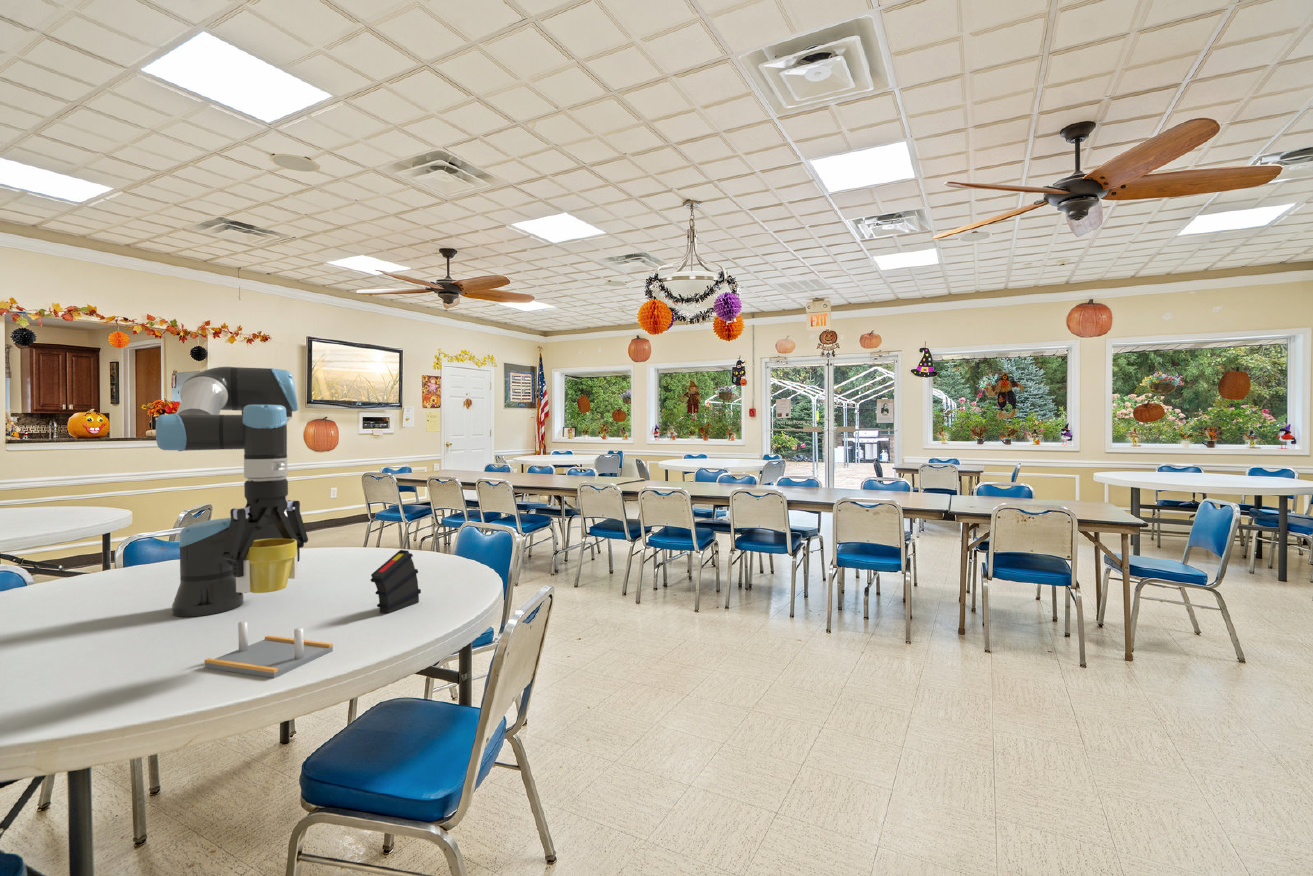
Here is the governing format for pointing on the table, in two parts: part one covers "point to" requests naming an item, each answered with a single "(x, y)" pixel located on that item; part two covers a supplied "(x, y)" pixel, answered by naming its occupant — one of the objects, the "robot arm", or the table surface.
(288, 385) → the robot arm
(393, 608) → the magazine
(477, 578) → the table surface
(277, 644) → the tray
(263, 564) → the plant pot
